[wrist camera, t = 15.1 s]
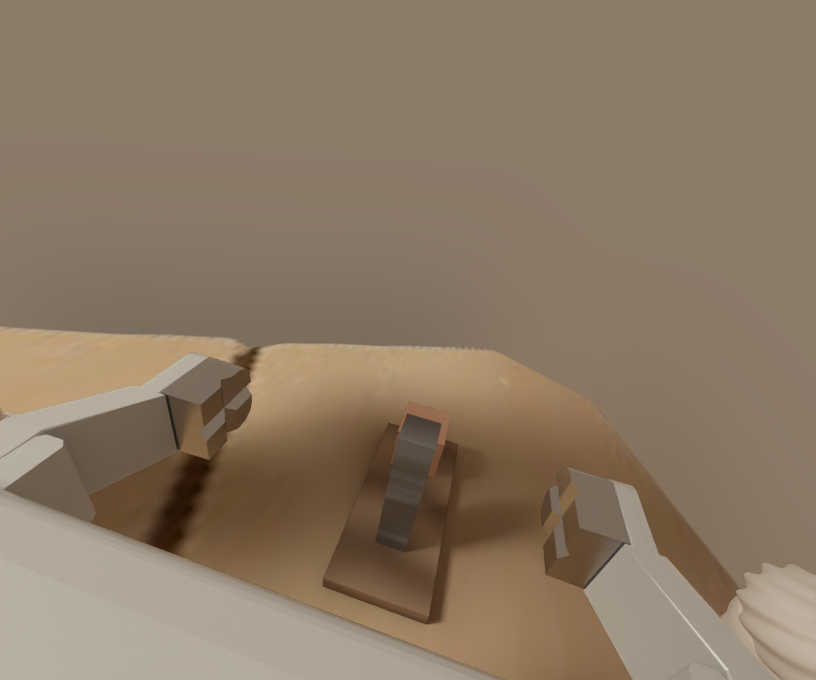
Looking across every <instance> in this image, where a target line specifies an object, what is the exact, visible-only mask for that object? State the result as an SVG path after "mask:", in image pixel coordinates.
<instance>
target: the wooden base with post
mask: <svg viewBox="0 0 816 680" xmlns="http://www.w3.org/2000/svg"><path fill="white" fill-rule="evenodd" d="M441 425H442V424H441V423H438V422H435V421H431V420H428V419H425V418H421V417H418V416H415V415H411V414H408V413H407V415H406V418H405V420H404V423H403V426H402V428H401V431H400V434H399V436H398V440H397V444H396V449H395V453H394V458H393V463H392V464H391V459H392V454H393V450H394V445H395V441H396V436H397V431H398V429H399V426H397V425H394V424H390V423H388V426H387V428H386V430H385V433H384V435H383V438H382V440H381V442H380V445H379V447H378V450H377V452H376V454H375V457H374V459H373V461H372V464H371V466H370V469H369V471H368V473H367V476H366V478H365V480H364V483H363V485H362V488H361V490H360V492H359V495H358V497H357V500H356V502H355V504H354V507H353V509H352V511H351V514H350V516H349V519H348V521H347V523H346V526H345V528H344V530H343V533H342V535H341V538H340V540H339V542H338V545H337V547H336V549H335V552H334V554H333V557H332V559H331V561H330V564H329V566H328V569H327V571H326V573H325V576H324V578H323V586H324V587H326V588H329V589H332V590H335V591H337V592H340V593H343V594H345V595H348V596H351V597H354V598H356V599H359V600H362V601H364V602H367V603H370V604H373V605H375V606H378V607H381V608H383V609H386V610H389V611H392V612H394V613H397V614H400V615H402V616H405V617H408V618H411V619H413V620H416V621H419V622H421V623H424V624H426V622H427V620H428V618H429V613H430V607H431V601H432V595H433V590H434V584H435V578H436V572H437V566H438V560H439V554H440V548H441V543H442V537H443V531H444V525H445V519H446V513H447V507H448V501H449V496H450V490H451V484H452V478H453V472H454V466H455V460H456V454H457V448H458V444H456V443H453V442H449V441H446V440H445V445H444V448H443V451H442V455H441V458H440V461H439V464H438V467H437V470H436V474H435V477H432V476H429V475H428V473H429V470H430V467H431V463H432V460H433V457H434V453H435V450H436V446H437V442H438V438H439V433H440V429H441Z"/></svg>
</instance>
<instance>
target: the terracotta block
mask: <svg viewBox="0 0 816 680" xmlns="http://www.w3.org/2000/svg"><path fill="white" fill-rule="evenodd" d="M407 413H408V414H411V415H415V416H418V417H421V418H425V419H428V420H431V421H435V422H438V423H441V424H442V425H441V429H440V433H439V438H438V442H437V446H436V450H435V453H434V457H433V460H432V463H431V467H430V470H429V473H428V475H429V476H432V477H435V474H436V470H437V467H438V464H439V461H440V458H441V455H442V451H443V448H444V445H445V440H446V436H447V431H448V426H449V421H450V417H451V414H450V413H447V412H443V411H440V410H436V409H433V408H430V407H426V406H423V405H420V404H416V403H413V402H408V405H407V407H406V410H405V413H404V415H403V418H402V421H401V423H400V426H399V429H398V431H397V436H396V441H395V445H394V450H393V454H392V459H391V464H392V463H393V458H394V453H395V449H396V444H397V440H398V436H399V434H400V431H401V428H402V426H403V423H404V420H405V418H406V415H407Z"/></svg>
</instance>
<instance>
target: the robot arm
mask: <svg viewBox="0 0 816 680" xmlns="http://www.w3.org/2000/svg"><path fill="white" fill-rule="evenodd" d="M250 382H251V379H250V371H248V370H247V369H245V368H242V367H239V366H236V365H233V364H230V363H227V362H224V361H221V360H218V359H215V358H211V357H208V356H205V355H202V354H199V353H196V352H194V353H188V354H187V355H186V356H184V357H183V358H181V359H180V360H178V361H177V362H175V363H174V364H172V365H171V366H170V367H168V368H167V369H165V370H164V371H162V372H161V373H159V374H158V375H156V376H155V377H154V378H152V379H151V380H149V381H148V382H146V383H145V384H143V385H142V386H140V387H139V386H136V385H133V386H129V387H125V388H121V389H117V390H113V391H109V392H105V393H102V394H98V395H94V396H90V397H86V398H82V399H78V400H74V401H70V402H66V403H62V404H59V405H55V406H51V407H47V408H43V409H39V410H35V411H31V412H27V413H23V414H12V413H6V412H3V411H2V410H1V408H0V680H506V679H503V678H501V677H498V676H496V675H493V674H490V673H488V672H485V671H482V670H480V669H477V668H474V667H472V666H469V665H466V664H464V663H461V662H458V661H456V660H453V659H451V658H448V657H445V656H443V655H440V654H437V653H435V652H432V651H429V650H427V649H424V648H421V647H419V646H416V645H413V644H411V643H408V642H406V641H403V640H400V639H398V638H395V637H392V636H390V635H387V634H384V633H382V632H379V631H376V630H374V629H371V628H368V627H366V626H363V625H361V624H358V623H355V622H353V621H350V620H347V619H345V618H342V617H339V616H337V615H334V614H331V613H329V612H326V611H323V610H321V609H318V608H316V607H313V606H310V605H308V604H305V603H302V602H300V601H297V600H294V599H292V598H289V597H286V596H284V595H281V594H278V593H276V592H273V591H271V590H268V589H265V588H263V587H260V586H257V585H255V584H252V583H249V582H247V581H244V580H241V579H239V578H236V577H233V576H231V575H228V574H226V573H223V572H220V571H218V570H215V569H212V568H210V567H207V566H204V565H202V564H199V563H196V562H194V561H191V560H188V559H186V558H183V557H180V556H178V555H175V554H172V553H170V552H167V551H165V550H162V549H159V548H157V547H154V546H151V545H149V544H146V543H143V542H141V541H138V540H135V539H133V538H130V537H127V536H125V535H122V534H119V533H117V532H114V531H111V530H109V529H106V528H103V527H101V526H98V525H96V524H93V523H90V522H91V521H92V520H93V519H94V518H95V514H96V510H95V508H94V506H93V504H92V502H91V499H90V497H89V495H91V494H93V493H95V492H97V491H99V490H101V489H103V488H105V487H108V486H110V485H112V484H114V483H116V482H118V481H120V480H122V479H124V478H126V477H128V476H130V475H132V474H134V473H136V472H138V471H140V470H142V469H144V468H146V467H148V466H151V465H153V464H155V463H157V462H159V461H161V460H163V459H165V458H167V457H169V456H171V455H173V454H175V453H177V452H178V450H179V451H182V452H185V453H188V454H192V455H195V456H198V457H201V458H205V459H208V460H210V459H211V457H212V456H213V455H214V454H215V453H216V452H217V451H218V450H219V449H220V448H221V447H222V446H223V444H224V443H225V442H226V441H227V433H228V432H230V431H233V430H235V429H238V428H239V427H240V426H241V425H242V423H243V422H244V421H245V420H246V418H247V416H248V414H249V412H250V409H251V404H252V395H251V393H250V392H249V390H248V389H247V387H246V386H247V385H248V384H249V383H250ZM557 483H558V485H557V486H554V487H552V488H549V490H548V492H547V494H546V496H545V498H544V502H543V506H542V513H541V522H542V529H543V530H544V532H545V533H546V535H547V536H548V539H547V541H546V542H545V544H544V545H543V549H544V561H545V573H546V575H548V576H551V577H553V578H556V579H559V580H562V581H564V582H567V583H570V584H572V585H575V586H578V587H580V588H583V589H585V590H584V592H585V594H586V596H587V598H588V600H589V601H590V603H591V605H592V607H593V609H594V611H595V612H596V614H597V616H598V618H599V620H600V621H601V623H602V625H603V627H604V629H605V630H606V632H607V634H608V636H609V638H610V640H611V641H612V643H613V645H614V647H615V649H616V650H617V652H618V654H619V656H620V658H621V659H622V661H623V663H624V665H625V667H626V669H627V670H628V672H629V674H630V676H631V678H632V679H633V680H775V679H774V678H773V677H772V675H771V674H770V673H769V672H768V671H767V670H766V669H765V668H764V666H763V665H762V664H761V663H760V662H759V661H758V660H757V659H756V657H755V656H754V655H753V654H752V653H751V652H750V651H749V650H748V648H747V647H746V646H745V645H744V644H743V643H742V642H741V641H740V639H739V638H738V637H737V636H736V635H735V634H734V633H733V632H732V630H731V629H730V628H729V627H728V626H727V625H726V624H725V623H724V621H723V620H722V619H721V618H720V617H719V616H718V615H717V614H716V612H715V611H714V610H713V609H712V608H711V607H710V606H709V605H708V603H707V602H706V601H705V600H704V599H703V598H702V597H701V596H700V594H699V593H698V592H697V591H696V590H695V589H694V588H693V587H692V585H691V584H690V583H689V582H688V581H687V580H686V579H685V578H684V576H683V575H682V574H681V573H680V572H679V571H678V570H677V569H676V567H675V566H674V565H673V564H672V563H671V562H670V561H669V560H668V558H667V557H664V556H661V555H659V553H658V550H657V547H656V545H655V542H654V539H653V536H652V533H651V531H650V528H649V525H648V522H647V519H646V516H645V514H644V511H643V508H642V505H641V502H640V500H639V497H638V494H637V491H636V490H635V488H634V487H633V486H631V485H628V484H624V483H621V482H617V481H614V480H610V479H606V478H603V477H600V476H596V475H593V474H590V473H586V472H583V471H579V470H576V469H573V468H569V467H566V466H565V467H564V468H562V469H561V470H560V472H559V473H558V475H557Z"/></svg>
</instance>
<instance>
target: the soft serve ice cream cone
mask: <svg viewBox="0 0 816 680" xmlns="http://www.w3.org/2000/svg"><path fill="white" fill-rule="evenodd" d="M744 580H745V583H746V588H744V589H738V590H737V591H736V594H737V596H735V597H734V598H733V599H732V600H731V601H730V603H729V606H728V608H727V611H726V612H725V613H724V614H723V615H722V616H721V617H720V618H721V619H722V620H723V621H724V623H725V624H726V625H727V626H728V627H729V628H730V629H731V630H732V632H733V633H734V634H735V635H736V636H737V637H738V638H739V639H740V641H741V642H742V643H743V644H744V645H745V646H746V647H747V648H748V650H749V651H750V652H751V653H752V654H753V655H754V656H755V657H756V659H757V660H758V661H759V662H760V663H761V664H762V665H763V666H764V668H765V669H766V670H767V671H768V672H769V673H770V674H771V675H772V677H773V678H774V679H775V680H816V575H814V574H812V573H810V572H808V571H806V570H804V569H802V568H801V567H799V566H797V565H795V564H787V565H786V566H785V567H784V568H780V567H777V566H774V565H772V564H769V563H762V564H761V574H754V573H750V572H745V573H744Z"/></svg>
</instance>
